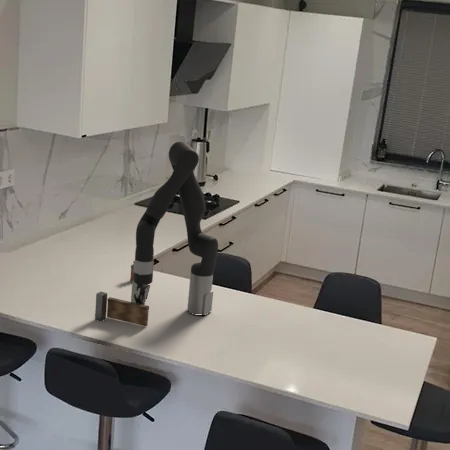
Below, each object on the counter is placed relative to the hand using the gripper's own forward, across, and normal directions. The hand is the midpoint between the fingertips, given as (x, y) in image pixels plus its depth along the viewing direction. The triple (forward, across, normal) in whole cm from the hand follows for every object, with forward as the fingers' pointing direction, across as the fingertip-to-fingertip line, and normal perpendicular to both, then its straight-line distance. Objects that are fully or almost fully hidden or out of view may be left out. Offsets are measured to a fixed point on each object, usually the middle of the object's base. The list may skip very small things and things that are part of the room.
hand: (140, 311), depth 273 cm
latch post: (+4, -17, -8) cm, 19 cm away
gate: (+3, +3, -4) cm, 7 cm away
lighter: (+4, -42, -16) cm, 45 cm away
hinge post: (+4, +5, -15) cm, 16 cm away
